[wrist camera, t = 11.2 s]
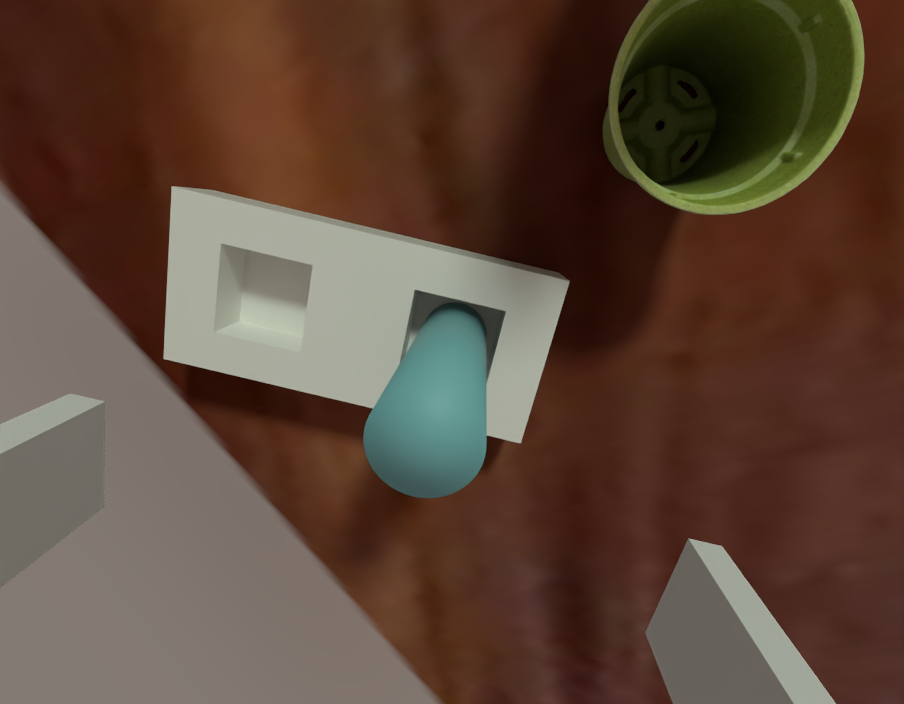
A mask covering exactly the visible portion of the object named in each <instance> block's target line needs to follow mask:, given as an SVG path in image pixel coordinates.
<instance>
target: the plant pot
mask: <svg viewBox="0 0 904 704" xmlns="http://www.w3.org/2000/svg"><path fill="white" fill-rule="evenodd" d="M863 68H864V44H863V36H862V30H861V24H860V21H859V18H858V14H857V12H856V10H855V7H854V5H853V3H852V1H851V0H649V2H648V3H647V4H646V5H645V7H644V8H643V9H642V11H641V12H640V13H639V15H638V16H637V18H636V19H635V21H634V22H633V24H632V26H631V27H630V29H629V31H628V33H627V35H626V37H625V39H624V41H623V43H622V45H621V48H620V50H619V53H618V55H617V58H616V61H615V64H614V68H613V72H612V77H611V81H610V88H609V99H608V107H607V110H606V113H605V116H604V121H603V143H604V148H605V152H606V154H607V157H608V159H609V161H610V162H611V164H612V165H613V167H614V168H615V169H616V170H617V171H618V172H619V173H620V174H622V175H623V176H624V177H626V178H628V179H630V180H632V181H634V182H636V183H637V184H638V185H639V186H640V187H641V188H643V189H644V190H645V191H646V192H647V193H649V194H650V195H651V196H653V197H655V198H656V199H658V200H659V201H661V202H663V203H665V204H667V205H670V206H672V207H675V208H677V209H680V210H683V211H687V212H691V213H697V214H704V215H724V214H733V213H739V212H744V211H748V210H752V209H755V208H758V207H761V206H763V205H766V204H768V203H770V202H772V201H774V200H776V199H778V198H780V197H781V196H783V195H785V194H786V193H788V192H789V191H791V190H792V189H794V188H795V187H797V186H798V185H799V184H800V183H802V182H803V181H804V180H805V179H807V178H808V177H809V176H810V175H811V174H812V173H813V172H814V171H815V170H816V169H817V168H818V167H819V166H820V164H821V163H822V162H823V161H824V160H825V159H826V158H827V156H828V155H829V154H830V153H831V151H832V150H833V149H834V147H835V146H836V144H837V143H838V141H839V139H840V138H841V136H842V134H843V132H844V131H845V129H846V127H847V124H848V122H849V120H850V118H851V116H852V113H853V111H854V108H855V106H856V103H857V100H858V97H859V91H860V88H861V82H862V77H863ZM679 81H683V82H685V83H688V84H689V85H691V86H692V87H693V88H694V89H695V91H696V93H697V97H696V98H695V99H693V98H691V96H690V95H689V94H688V93H687V92H686V90H684V89H683V88H681V85H678V84H677V82H679ZM632 89H635V90H636V94H635V95H634V96H632V98H631V99H630V100H629V101H628V102H627V104H626V105H625V107H624V108H623V110H622V112H618V106H619V105H620V104H621V102H622V101H623V99H624V96H625V95H626V94H627V93H628V92H629V91H630V90H632ZM658 121H663V122H664V124H665V126H664V128H663V129H662V130H660V131H658V130H656V128H655V125H656V124H657V122H658ZM695 141H698V147H697V149H696V150H695V152H694V153H693V154H692V156H691V157H690V158H689V159H688V160H687V161H686V162H680V159H681V158H682V157H683V156H684V155H685V154H686V153H687V152H688V151H689V149H690V148H691V147H692V145H693V144H694V142H695ZM636 165H638V166H639V168H638V167H637V166H636Z"/></svg>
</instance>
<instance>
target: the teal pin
mask: <svg viewBox="0 0 904 704" xmlns="http://www.w3.org/2000/svg"><path fill="white" fill-rule="evenodd" d="M363 442H364V450H365V453H366V457H367V459H368V461H369V464H370V465H371V467H372V469H373V470H374V472H375V473H376V474H377V475H378V477H379V478H380V479H382V480H383V481H384V482H385V483H386V484H387V485H389V486H390V487H392V488H393V489H395V490H397V491H399V492H401V493H404V494H407V495H410V496H414V497H419V498H437V497H443V496H446V495H450V494H452V493H454V492H457V491H458V490H460V489H462V488H463V487H465V486H466V485H467V484H469V483H470V482H471V481H472V480H473V479H474V478H475V476H476V475H477V473H478V472H479V470H480V468H481V467H482V464H483V462H484V459H485V454H486V444H487V419H486V326H485V323H484V321H483V319H482V317H481V316H480V314H479V313H478V312H477V311H476V310H475V309H473V308H472V307H470V306H468V305H466V304H463V303H456V302H453V303H446V304H443V305H441V306H439V307H437V308H436V309H434V310H433V311H432V312H431V313H430V314H429V316H428V317H427V319H426V321H425V322H424V324H423V326H422V327H421V329H420V331H419V332H418V334H417V336H416V338H415V339H414V341H413V343H412V344H411V346H410V348H409V349H408V351H407V353H406V354H405V356H404V358H403V359H402V361H401V363H400V364H399V366H398V368H397V369H396V371H395V373H394V374H393V376H392V378H391V379H390V381H389V383H388V384H387V386H386V388H385V389H384V391H383V393H382V395H381V396H380V398H379V400H378V401H377V403H376V405H375V406H374V408H373V410H372V411H371V413H370V415H369V417H368V419H367V421H366V424H365V428H364V435H363Z"/></svg>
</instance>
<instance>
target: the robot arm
mask: <svg viewBox="0 0 904 704" xmlns="http://www.w3.org/2000/svg"><path fill="white" fill-rule="evenodd" d="M104 427H105V402H104V401H100V400H96V399H91V398H87V397H83V396H78V395H74V394H68V395H66V396H64V397H61V398H59V399H57V400H55V401H52V402H50V403H48V404H45V405H43V406H41V407H39V408H36V409H34V410H32V411H29V412H27V413H25V414H23V415H21V416H18V417H16V418H14V419H11V420H9V421H7V422H4V423H2V424H0V588H1V587H2V586H4V585H5V584H6V583H7V582H9V581H10V580H11V579H12V578H14V577H15V576H16V575H18V574H19V573H20V572H21V571H23V570H24V569H25V568H26V567H28V566H29V565H30V564H32V563H33V562H34V561H36V560H37V559H38V558H39V557H40V556H42V555H43V554H44V553H46V552H47V551H48V550H50V549H51V548H52V547H54V546H55V545H56V544H57V543H59V542H60V541H61V540H62V539H64V538H65V537H66V536H68V535H69V534H70V533H71V532H73V531H74V530H75V529H77V528H78V527H79V526H80V525H82V524H83V523H84V522H85V521H87V520H88V519H89V518H91V517H92V516H93V515H95V514H96V513H97V512H98V511H99V510H101V509H102V508H103V507H104V441H105V439H104V438H105V435H104V434H105V429H104ZM646 636H647V638H648V641H649V643H650V646H651V649H652V651H653V654H654V656H655V659H656V661H657V664H658V666H659V669H660V672H661V674H662V677H663V679H664V682H665V684H666V687H667V689H668V692H669V695H670V697H671V700H672V702H673V704H836V703H835V702H834V700H833V699H832V698H831V696H830V695H829V693H828V692H827V691H826V689H825V688H824V687H823V685H822V684H821V682H820V681H819V680H818V678H817V677H816V675H815V674H814V673H813V671H812V670H811V669H810V667H809V666H808V664H807V663H806V662H805V660H804V659H803V657H802V656H801V655H800V653H799V652H798V651H797V649H796V648H795V646H794V645H793V644H792V642H791V641H790V640H789V638H788V637H787V635H786V634H785V633H784V631H783V630H782V628H781V627H780V626H779V624H778V623H777V622H776V620H775V619H774V617H773V616H772V615H771V613H770V612H769V610H768V609H767V608H766V606H765V605H764V604H763V602H762V601H761V599H760V598H759V597H758V595H757V594H756V593H755V591H754V590H753V588H752V587H751V586H750V584H749V583H748V581H747V580H746V579H745V577H744V576H743V575H742V573H741V572H740V570H739V569H738V568H737V566H736V565H735V563H734V562H733V561H732V559H731V558H730V557H729V555H728V554H727V552H726V551H725V550H724V548H723V547H722V546H719V545H714V544H710V543H706V542H701V541H697V540H693V539H689V538H688V540H687V543H686V545H685V547H684V549H683V551H682V554H681V556H680V558H679V560H678V562H677V565H676V567H675V569H674V571H673V573H672V576H671V578H670V580H669V582H668V584H667V587H666V589H665V591H664V593H663V595H662V598H661V600H660V602H659V604H658V606H657V609H656V611H655V613H654V615H653V617H652V620H651V622H650V624H649V626H648V628H647V630H646Z"/></svg>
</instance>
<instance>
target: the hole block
mask: <svg viewBox="0 0 904 704" xmlns="http://www.w3.org/2000/svg"><path fill="white" fill-rule="evenodd" d="M569 282H570V281H569V280H568V279H566V278H565V277H564V276H562V275H561V274H560V273H558V272H554V271H550V270H546V269H541V268H537V267H533V266H529V265H525V264H521V263H516V262H512V261H508V260H504V259H500V258H495V257H491V256H487V255H483V254H479V253H474V252H470V251H466V250H462V249H458V248H454V247H449V246H445V245H441V244H437V243H433V242H428V241H424V240H420V239H416V238H412V237H407V236H403V235H399V234H395V233H391V232H387V231H382V230H378V229H374V228H370V227H366V226H361V225H357V224H353V223H349V222H345V221H340V220H336V219H332V218H328V217H324V216H319V215H315V214H311V213H307V212H303V211H299V210H294V209H290V208H286V207H282V206H278V205H273V204H269V203H265V202H261V201H257V200H252V199H248V198H244V197H240V196H236V195H232V194H227V193H223V192H219V191H215V190H207V189H196V188H186V187H175V186H172V194H171V215H170V235H169V256H168V277H167V298H166V318H165V339H164V359H166V360H171V361H175V362H179V363H183V364H188V365H192V366H196V367H200V368H204V369H209V370H213V371H217V372H221V373H226V374H230V375H234V376H238V377H242V378H247V379H251V380H255V381H259V382H264V383H268V384H272V385H276V386H280V387H285V388H289V389H293V390H297V391H301V392H306V393H310V394H314V395H318V396H323V397H327V398H331V399H335V400H339V401H344V402H348V403H352V404H356V405H361V406H365V407H369V408H374V406H375V405H376V403H377V401H378V400H379V398H380V396H381V395H382V393H383V391H384V389H385V388H386V386H387V384H388V383H389V381H390V379H391V378H392V376H393V374H394V373H395V371H396V369H397V368H398V366H399V364H400V363H401V361H402V359H403V358H404V356H405V354H406V353H407V351H408V349H409V348H410V346H411V344H412V343H413V341H414V339H415V338H416V336H417V334H418V332H419V331H420V329H421V327H422V326H423V324H424V322H425V321H426V319H427V317H428V316H429V314H430V313H431V312H432V311H433V310H434V309H436V308H437V307H439V306H441V305H443V304H446V303H453V302H456V303H463V304H466V305H468V306H470V307H472V308H473V309H475V310H476V311H477V312H478V313H479V314H480V316H481V317H482V319H483V321H484V323H485V326H486V419H487V436H491V437H496V438H500V439H504V440H508V441H512V442H517V443H521V441H522V437H523V434H524V431H525V427H526V424H527V421H528V417H529V414H530V411H531V408H532V404H533V401H534V398H535V394H536V391H537V388H538V384H539V381H540V378H541V375H542V371H543V368H544V365H545V361H546V358H547V355H548V351H549V348H550V345H551V342H552V338H553V335H554V332H555V328H556V325H557V322H558V318H559V315H560V312H561V309H562V305H563V302H564V299H565V295H566V292H567V289H568V285H569Z"/></svg>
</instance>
